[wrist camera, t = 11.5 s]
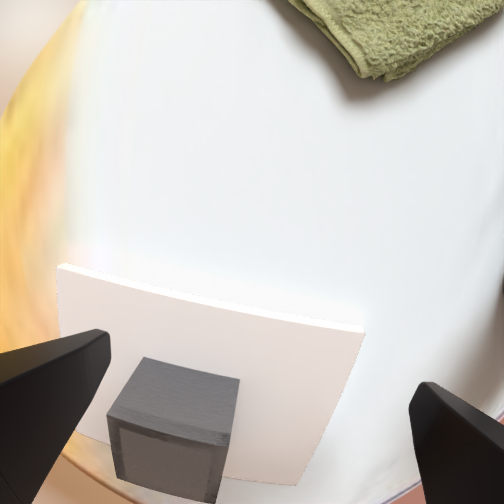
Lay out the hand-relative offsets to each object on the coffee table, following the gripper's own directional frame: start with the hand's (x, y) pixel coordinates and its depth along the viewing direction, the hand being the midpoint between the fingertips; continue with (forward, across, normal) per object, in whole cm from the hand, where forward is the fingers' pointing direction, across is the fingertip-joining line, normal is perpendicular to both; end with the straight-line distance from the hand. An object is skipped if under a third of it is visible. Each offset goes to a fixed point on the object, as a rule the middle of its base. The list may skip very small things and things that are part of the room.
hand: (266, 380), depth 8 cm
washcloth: (+12, -5, -21) cm, 25 cm away
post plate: (+11, +4, +11) cm, 16 cm away
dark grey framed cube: (+10, +4, +10) cm, 15 cm away
